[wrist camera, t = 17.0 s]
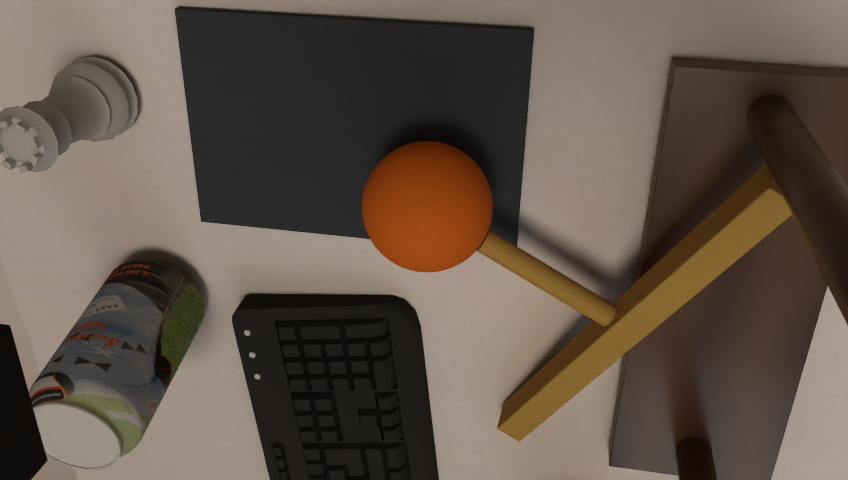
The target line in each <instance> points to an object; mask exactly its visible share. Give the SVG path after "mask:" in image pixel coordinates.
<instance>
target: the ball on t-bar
mask: <svg viewBox="0 0 848 480" xmlns="http://www.w3.org/2000/svg"><path fill="white" fill-rule="evenodd" d="M492 213H493V200H492V194H491V190H490V186H489V183H488V181H487V179H486V177H485V175H484V173H483V172H482V170H481V168H480V167H479V166H478V165H477V164H476V162H475V161H474V160H472V159H471V158H470V157H469V156H468V155H467V154H465V153H464V152H462V151H461V150H459V149H457V148H455V147H453V146H450V145H448V144H444V143H440V142H433V141H421V142H415V143H410V144H407V145H404V146H402V147H400V148H397V149H395V150H394V151H392V152H391V153H389V154H388V155H387V156H385V157H384V158H383V159H382V160H381V161H380V162H379V163H378V164H377V165H376V167H375V168H374V170H373V171H372V173H371V174H370V176H369V178H368V180H367V183H366V185H365V188H364V193H363V197H362V216H363V221H364V225H365V228H366V231H367V233H368V235H369V237H370V239H371V241H372V242H373V244H374V245H375V247H376V248H377V249H378V250H379V251H380V253H382V254H383V255H384V256H385V257H386V258H387V259H389V260H390V261H392V262H393V263H395V264H397V265H399V266H401V267H403V268H406V269H409V270H413V271H417V272H437V271H442V270H446V269H449V268H452V267H454V266H456V265H458V264H460V263H462V262H463V261H465V260H466V259H468V258H469V257H470V256H471V255H472V254H473V253H474V252H475V251H476V250H477V251H478V252H480V253H481V254H483V255H485V256H486V257H488V258H490V259H491V260H493V261H495V262H496V263H498V264H500V265H502V266H503V267H505V268H507V269H508V270H510V271H512V272H513V273H515V274H517V275H518V276H520V277H522V278H523V279H525V280H527V281H528V282H530V283H532V284H533V285H535V286H537V287H538V288H540V289H542V290H543V291H545V292H547V293H548V294H550V295H552V296H553V297H555V298H557V299H558V300H560V301H562V302H563V303H565V304H567V305H568V306H570V307H572V308H574V309H575V310H577V311H579V312H580V313H582V314H584V315H585V316H587V317H589V318H590V319H592V320H594V321H593V322H592V323H591V324H590V325H589V326H587V327H586V328H585V329H584V330H583V331H582V332H581V333H580V334H579V335H578V336H577V337H575V338H574V339H573V340H572V341H571V342H570V343H569V344H568V345H567V346H566V347H565V348H563V349H562V350H561V351H560V352H559V353H558V354H557V355H556V356H555V357H554V358H552V359H551V360H550V361H549V362H548V363H547V364H546V365H545V366H544V367H543V368H542V369H540V370H539V371H538V372H537V373H536V374H535V375H534V376H533V377H532V378H531V379H530V380H528V381H527V382H526V383H525V384H524V385H523V386H522V387H521V388H520V389H519V390H518V391H516V392H515V393H514V394H513V395H512V396H511V397H510V398H509V399H508V400H507V401H506V402H504V404H503V408H502V412H501V416H500V419H499V423H498V427H497V429H499V430H500V431H502V432H504V433H506V434H507V435H509V436H511V437H513V438H514V439H516V440H518V441H520V440H522V439H523V438H524V437H525V436H526V435H528V434H529V433H530V432H531V431H533V430H534V429H535V428H536V427H537V426H539V425H540V424H541V423H542V422H543V421H545V420H546V419H547V418H548V417H549V416H551V415H552V414H553V413H554V412H555V411H557V410H558V409H559V408H560V407H561V406H563V405H564V404H565V403H566V402H567V401H569V400H570V399H571V398H572V397H573V396H575V395H576V394H577V393H578V392H579V391H581V390H582V389H583V388H584V387H585V386H587V385H588V384H589V383H590V382H591V381H593V380H594V379H595V378H596V377H597V376H599V375H600V374H601V373H602V372H603V371H605V370H606V369H607V368H608V367H609V366H611V365H612V364H613V363H614V362H615V361H617V360H618V359H619V358H620V357H621V356H623V355H624V354H625V353H626V352H627V351H629V350H630V349H631V348H632V347H633V346H635V345H636V344H637V343H638V342H639V341H641V340H642V339H643V338H644V337H645V336H647V335H648V334H649V333H650V332H651V331H653V330H654V329H655V328H656V327H657V326H659V325H660V324H661V323H662V322H664V321H665V320H666V319H667V318H668V317H670V316H671V315H672V314H673V313H674V312H676V311H677V310H678V309H679V308H680V307H682V306H683V305H684V304H685V303H686V302H688V301H689V300H690V299H691V298H692V297H694V296H695V295H696V294H697V293H698V292H700V291H701V290H702V289H703V288H704V287H706V286H707V285H708V284H709V283H710V282H712V281H713V280H714V279H715V278H716V277H718V276H719V275H720V274H721V273H722V272H724V271H725V270H726V269H727V268H728V267H730V266H731V265H732V264H733V263H734V262H736V261H737V260H738V259H739V258H740V257H742V256H743V255H744V254H745V253H746V252H748V251H749V250H750V249H751V248H752V247H754V246H755V245H756V244H757V243H758V242H760V241H761V240H762V239H763V238H764V237H766V236H767V235H768V234H769V233H770V232H772V231H773V230H774V229H775V228H776V227H778V226H779V225H780V224H781V223H782V222H784V221H785V220H786V219H787V218H788V217H790V216H791V215H792V213H791V211H790V209H789V207H788V205H787V203H786V201H785V199H784V197H783V195H782V193H781V191H780V189H779V187H778V185H777V183H776V181H775V179H774V177H773V175H772V173H771V171H770V169H769V167H768V165H767V163H766V164H764V165H763V166H762V167H761V168H760V169H759V170H758V171H757V172H756V173H755V174H754V175H752V176H751V177H750V178H749V179H748V180H747V181H746V182H745V183H744V184H743V185H742V186H740V187H739V188H738V189H737V190H736V191H735V192H734V193H733V194H732V195H731V196H729V197H728V198H727V199H726V200H725V201H724V202H723V203H722V204H721V205H720V206H719V207H717V208H716V209H715V210H714V211H713V212H712V213H711V214H710V215H709V216H708V217H707V218H705V219H704V220H703V221H702V222H701V223H700V224H699V225H698V226H697V227H696V228H695V229H693V230H692V231H691V232H690V233H689V234H688V235H687V236H686V237H685V238H684V239H683V240H681V241H680V242H679V243H678V244H677V245H676V246H675V247H674V248H673V249H672V250H670V251H669V252H668V253H667V254H666V255H665V256H664V257H663V258H662V259H661V260H660V261H658V262H657V263H656V264H655V265H654V266H653V267H652V268H651V269H650V270H649V271H648V272H646V273H645V274H644V275H643V276H642V277H641V278H640V279H639V280H638V281H637V282H636V283H634V284H633V285H632V286H631V287H630V288H629V289H628V290H627V291H626V292H625V293H624V294H622V295H621V296H620V297H619V298H618V299H617V300H616V301H615V302H614V303H613V304H612V303H610V302H608V301H607V300H605V299H603V298H602V297H600V296H598V295H597V294H595V293H593V292H592V291H590V290H588V289H587V288H585V287H583V286H582V285H580V284H578V283H577V282H575V281H573V280H572V279H570V278H568V277H567V276H565V275H563V274H562V273H560V272H558V271H557V270H555V269H553V268H552V267H550V266H548V265H547V264H545V263H543V262H542V261H540V260H538V259H537V258H535V257H533V256H532V255H530V254H528V253H527V252H525V251H523V250H522V249H520V248H518V247H517V246H515V245H513V244H512V243H510V242H509V241H507V240H505V239H504V238H502V237H500V236H499V235H497V234H495V233H494V232H492V231H490V230H489V227H490V224H491V220H492Z"/></svg>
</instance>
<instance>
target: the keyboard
mask: <svg viewBox="0 0 848 480" xmlns="http://www.w3.org/2000/svg"><path fill="white" fill-rule="evenodd" d="M232 323H233V328H234V332H235V336H236V340H237V344H238V348H239V352H240V357H241V361H242V365H243V369H244V373H245V377H246V382H247V386H248V390H249V394H250V398H251V402H252V407H253V411H254V415H255V419H256V423H257V427H258V431H259V436H260V440H261V444H262V448H263V452H264V456H265V461H266V465H267V469H268V473H269V477H270V480H439V478H438V470H437V461H436V453H435V444H434V436H433V428H432V419H431V411H430V402H429V394H428V385H427V377H426V368H425V360H424V351H423V343H422V334H421V326H420V323H419V320H418V317H417V314H416V311H415V310H414V309H413V308H412V307H411V306H410V305H409V303H408V302H407V301H406V300H404V299H401V298H398V297H395V296H392V295H307V294H249V295H246V296H245V298H244V299H243V301H242V302H241V304H240V305H239V306H238V308H237V309H236V311H235V312H234V314H233V316H232Z"/></svg>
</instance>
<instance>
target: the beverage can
mask: <svg viewBox="0 0 848 480" xmlns="http://www.w3.org/2000/svg"><path fill="white" fill-rule="evenodd" d="M203 317H204V303H203V300H202V297H201V295H200V293H199V292H198V290H197V288H196V287H195V286H194V285H193V284H192V282H191V281H190V280H188V279H187V278H186V277H185V276H184V275H182V274H181V273H180V272H178V271H176V270H174V269H173V268H171V267H169V266H166V265H163V264H161V263H157V262H153V261H144V260H143V261H131V262H127V263H124V264H122V265H120V266H119V267H117V268H116V269H114V270H113V272H112V273H111V274H110V275H109V277H108V278H107V280H106V281H105V282H104V284H103V285H102V287H101V288H100V289H99V291H98V292H97V294H96V295H95V297H94V298H93V299H92V301H91V302H90V304H89V305H88V307H87V308H86V309H85V311H84V312H83V314H82V315H81V317H80V318H79V319H78V321H77V322H76V324H75V325H74V326H73V328H72V329H71V331H70V332H69V334H68V335H67V336H66V338H65V339H64V341H63V342H62V344H61V345H60V346H59V348H58V349H57V351H56V352H55V354H54V355H53V356H52V358H51V359H50V361H49V362H48V364H47V365H46V366H45V368H44V369H43V371H42V372H41V373H40V375H39V376H38V378H37V379H36V381H35V382H34V383H33V385H32V387H31V389H30V390H29V396H30V399H31V403H32V406H33V410H34V414H35V417H36V421H37V424H38V428H39V431H40V435H41V439H42V442H43V446H44V449H45V453H46V456H47V457H49V458H51V459H53V460H54V461H57V462H59V463H61V464H63V465H66V466H69V467H73V468H77V469H83V470H99V469H103V468H107V467H109V466H111V465H112V464H114V463H115V462H116V461H117V460H118V458H119V457H121V456H123V455H125V454H127V453H129V452H130V451H131V450H132V449H134V448H135V447H136V446H137V445H138V443H139V442H140V440H141V439H142V437H143V435H144V433H145V431H146V429H147V427H148V425H149V423H150V421H151V419H152V418H153V416H154V414H155V412H156V410H157V408H158V406H159V404H160V402H161V400H162V398H163V396H164V394H165V392H166V390H167V388H168V387H169V385H170V383H171V381H172V379H173V377H174V375H175V373H176V371H177V369H178V367H179V365H180V363H181V361H182V359H183V357H184V356H185V354H186V352H187V350H188V348H189V346H190V344H191V342H192V340H193V338H194V336H195V334H196V332H197V330H198V328H199V326H200V325H201V323H202V320H203Z"/></svg>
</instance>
